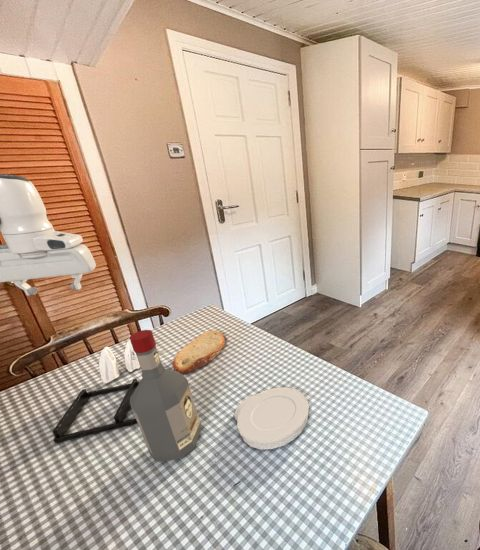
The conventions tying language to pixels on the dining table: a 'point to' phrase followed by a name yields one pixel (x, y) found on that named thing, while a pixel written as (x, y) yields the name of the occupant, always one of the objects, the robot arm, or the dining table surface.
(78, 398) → the dish rack
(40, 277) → the robot arm
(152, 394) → the liquor
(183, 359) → the bread slice
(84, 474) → the dining table surface
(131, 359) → the shaker set
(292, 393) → the lid
